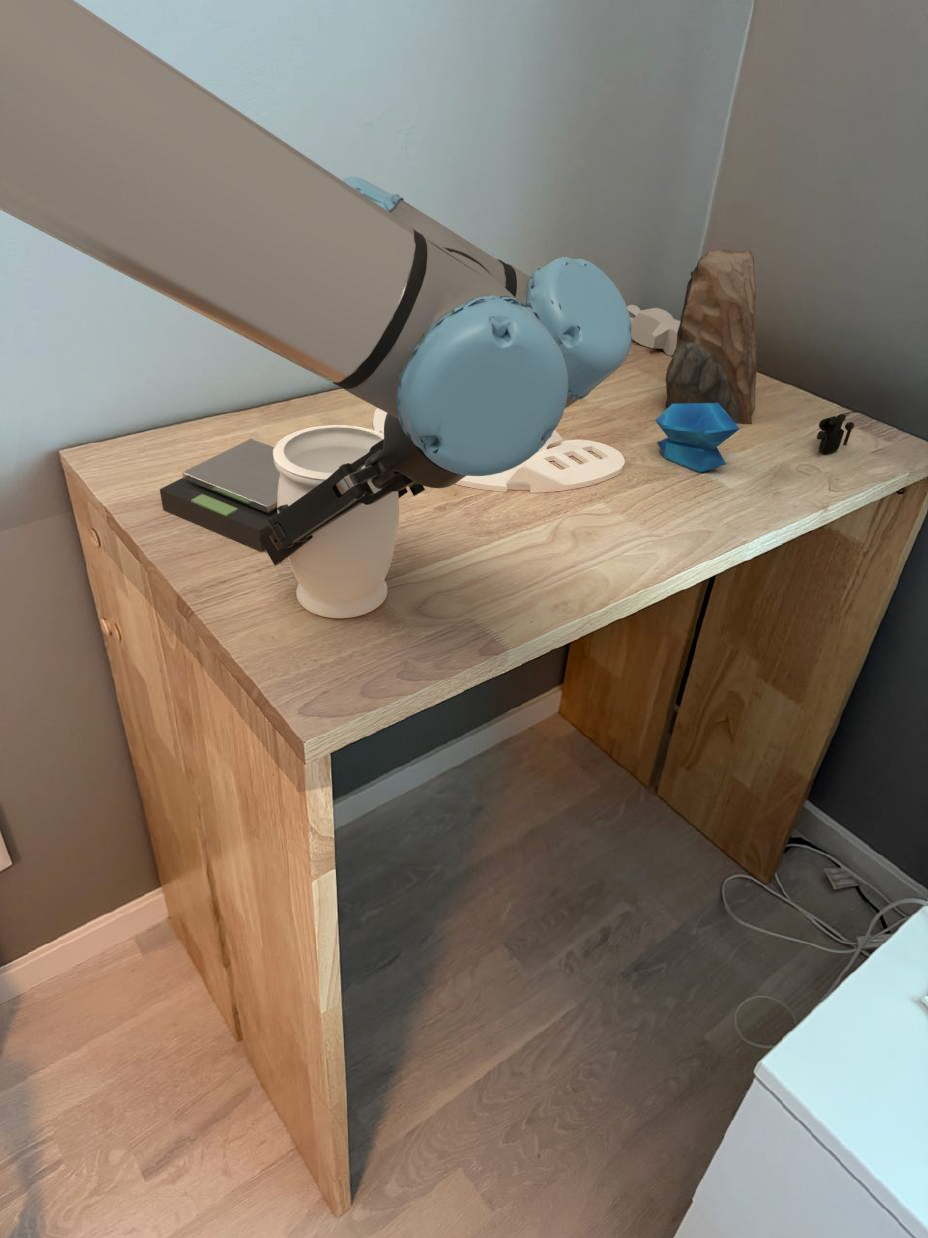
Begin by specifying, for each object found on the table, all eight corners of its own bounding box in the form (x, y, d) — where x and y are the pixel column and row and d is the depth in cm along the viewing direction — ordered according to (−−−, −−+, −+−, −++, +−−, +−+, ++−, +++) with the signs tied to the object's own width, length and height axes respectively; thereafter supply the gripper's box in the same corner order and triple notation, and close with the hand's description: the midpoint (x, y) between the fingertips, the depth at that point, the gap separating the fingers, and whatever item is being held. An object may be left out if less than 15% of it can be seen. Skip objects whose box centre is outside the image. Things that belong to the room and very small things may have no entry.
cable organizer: (640, 467, 107) (645, 441, 105) (488, 522, 95) (491, 494, 93) (464, 374, 129) (465, 351, 127) (322, 409, 116) (320, 384, 114)
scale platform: (182, 478, 93) (181, 472, 93) (251, 444, 100) (250, 438, 100) (268, 513, 88) (267, 506, 88) (333, 474, 96) (333, 468, 95)
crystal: (668, 388, 110) (759, 394, 103) (669, 454, 114) (756, 466, 107) (636, 404, 106) (729, 412, 98) (638, 472, 110) (727, 485, 102)
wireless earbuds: (814, 460, 112) (826, 423, 109) (799, 452, 113) (810, 415, 110) (849, 448, 115) (861, 412, 112) (833, 441, 116) (845, 405, 113)
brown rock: (660, 419, 119) (690, 266, 107) (649, 383, 129) (675, 240, 118) (753, 425, 119) (794, 272, 107) (734, 389, 129) (769, 246, 117)
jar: (295, 635, 78) (283, 484, 69) (277, 572, 85) (264, 428, 76) (411, 617, 81) (414, 470, 72) (383, 558, 88) (383, 418, 79)
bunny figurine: (679, 338, 134) (604, 301, 141) (670, 369, 137) (596, 332, 145) (713, 326, 140) (638, 291, 147) (703, 356, 143) (631, 320, 150)
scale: (163, 509, 94) (159, 487, 92) (254, 462, 103) (252, 441, 102) (261, 552, 88) (259, 529, 86) (348, 497, 98) (348, 476, 96)
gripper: (362, 524, 57) (237, 615, 74) (570, 422, 71) (424, 518, 88) (303, 421, 56) (191, 537, 73) (524, 339, 71) (387, 453, 88)
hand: (318, 527), depth 81 cm, fingers closed on jar, 10 cm apart
